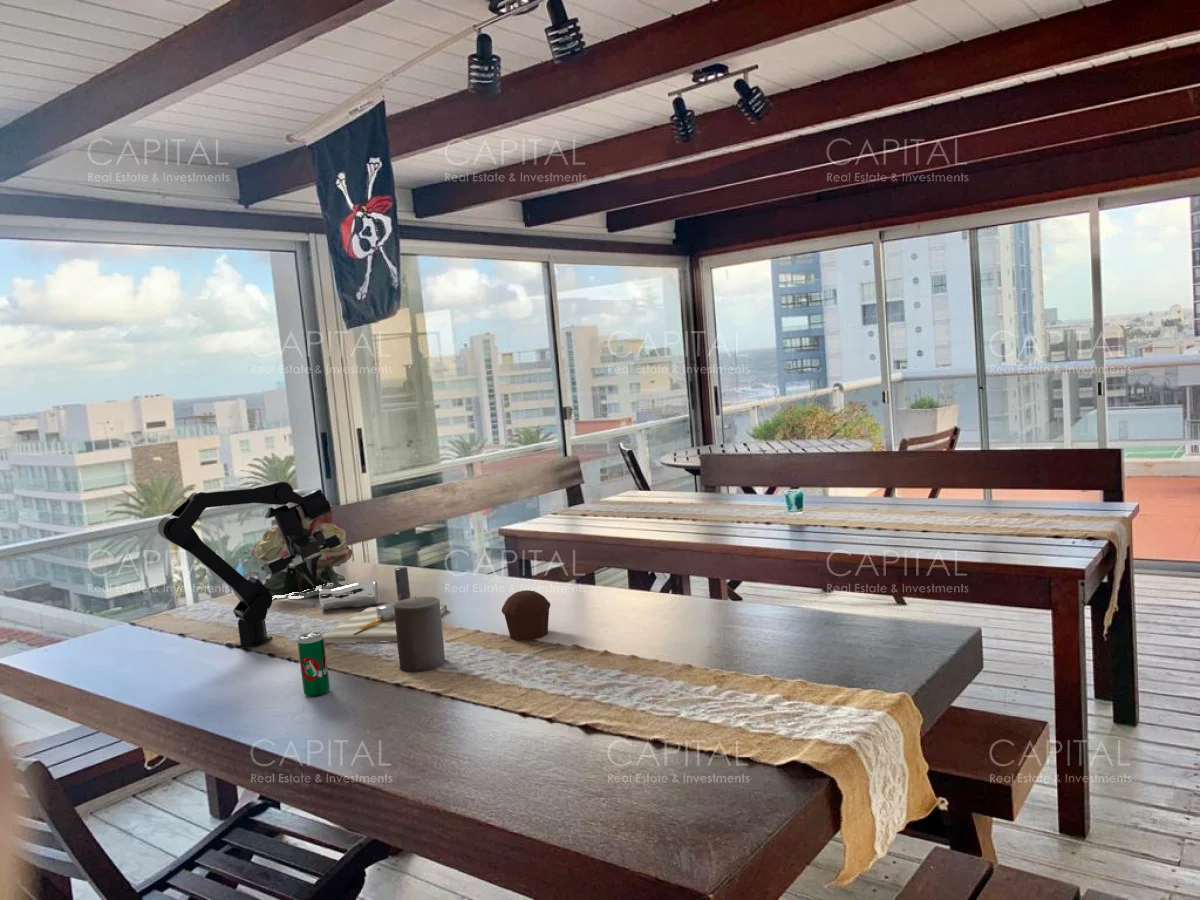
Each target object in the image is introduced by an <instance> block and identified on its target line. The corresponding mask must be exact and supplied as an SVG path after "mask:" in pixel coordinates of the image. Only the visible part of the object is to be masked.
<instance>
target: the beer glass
mask: <svg viewBox="0 0 1200 900" xmlns="http://www.w3.org/2000/svg"><path fill="white" fill-rule="evenodd" d="M318 597H319V600H318V601H319V606H320V608H321V610H322V609H327V608H330V609H333V607H334V608H360V607H359V606H365V607H369V606H368V605H370V606H375V605H378V604H379V603H380V589H379V584H378V581H377V580H376V579H375V580H363V581H362V580H361V581H355V582H352V583H350V584H344V586H341V587H337V588H321V589H320V592H319V594H318ZM374 604H375V605H374ZM327 610H328V609H327Z"/></svg>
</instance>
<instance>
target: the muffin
mask: <svg viewBox="0 0 1200 900" xmlns="http://www.w3.org/2000/svg"><path fill="white" fill-rule="evenodd" d="M550 608H551V602H550V601H549V600H548V599H547V598H546V597H545V596H544V595H542V594H541V593H539V592H537V591H535V590H529V589H528V590H526V589H525V590H524V589H523V590H520V591H517V592H515V593H512V594H511V595H510V596H509V597H507V599H506V600H505V602H504V604H503V606H502V607H501V613H502V614H503V615H504V618H505V622H506V626H507V630H508V634H509V638H510V640H513V641H514V640H515V641H517V642H519V641H522V642H523V641H533V640H537V639H542V638H543V637H544V636H547V635H548V632H549V619H550V617H549V615H550Z"/></svg>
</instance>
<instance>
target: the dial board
mask: <svg viewBox="0 0 1200 900" xmlns="http://www.w3.org/2000/svg"><path fill="white" fill-rule="evenodd" d="M376 607H377V606H368V607H367V608H366V609H364V610H362V611H360V612H359V613H357V614H355V615H354V616H352V617H351V618H349V619H348V620H346V621H345V622H343V623H341V624H339V625H338V626H337V627H335V628H333V629H331V630H330V631H328V632H326V633H325V634H322V636H323V637H324V642H325V643H336V644H354V643H353V642H376V643H381V642H380V641H397V635H396V625H395V619H393V620H389V621H382V622H379V623H377V624H375V625H373V626H370V627H368V628H366V629H363V630H362V629H360V627H361V626H363V625H365V624H368V623H370V622H372V621H375V620H377V612H376ZM447 611H448V607H447V604H440V612H441V616H442V615H443V614H444V613H445V612H447Z"/></svg>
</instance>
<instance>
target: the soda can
mask: <svg viewBox="0 0 1200 900" xmlns="http://www.w3.org/2000/svg"><path fill="white" fill-rule="evenodd" d="M297 649H298V657H299V659H298V660H299V664H300V673H301V674H300V675H301V681H302V689H303V694H304V695H305V696H306V697H310V698H311V697H312V698H315V697H316V698H317V697H321V696H324V695H326V694H327V693H328V692H329V691H330V689H331V686H330V685H331V684H330V677H329V670H328V669H329V667H328V660H327V652H326V644H325V642H324V637H323V634H322V632H321V631H309V632H306V633H302V634H300V635H299V636H298V640H297Z"/></svg>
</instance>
